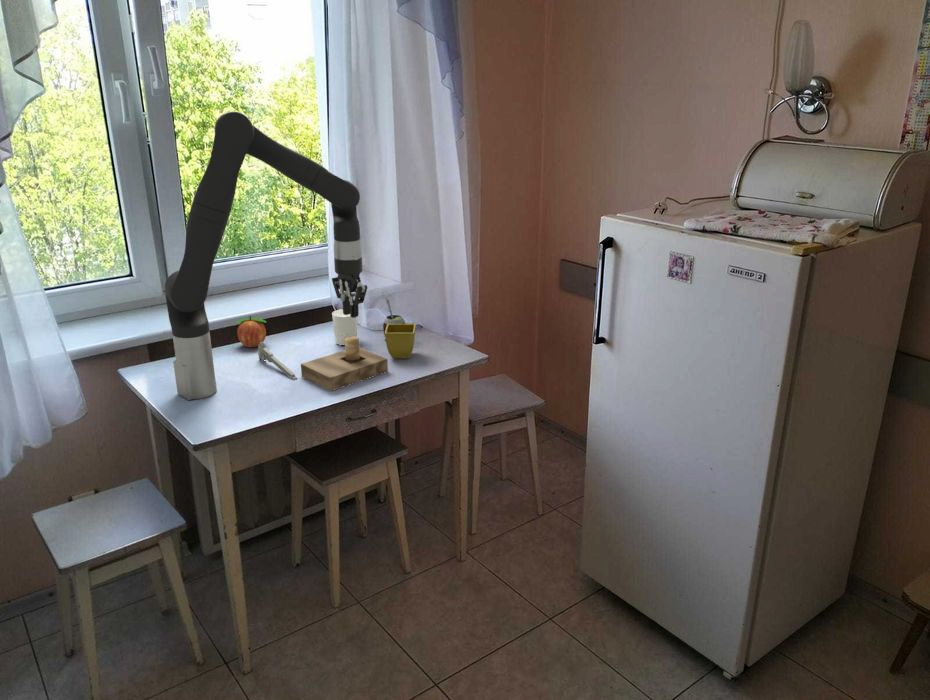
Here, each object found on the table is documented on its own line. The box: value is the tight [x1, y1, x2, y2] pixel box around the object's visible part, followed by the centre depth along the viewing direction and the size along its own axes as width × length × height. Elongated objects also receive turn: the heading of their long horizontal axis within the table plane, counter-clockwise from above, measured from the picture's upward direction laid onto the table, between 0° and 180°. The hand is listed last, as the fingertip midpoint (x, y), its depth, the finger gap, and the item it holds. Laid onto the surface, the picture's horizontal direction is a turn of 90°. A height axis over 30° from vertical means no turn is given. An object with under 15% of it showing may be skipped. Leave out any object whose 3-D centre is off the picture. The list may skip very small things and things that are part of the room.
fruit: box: [234, 315, 267, 348], centre depth 235 cm, size 9×10×10 cm
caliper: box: [257, 342, 298, 380], centre depth 218 cm, size 20×1×6 cm, turn 43°
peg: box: [344, 336, 360, 364], centre depth 216 cm, size 4×4×10 cm
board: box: [300, 346, 389, 392], centre depth 215 cm, size 20×14×4 cm
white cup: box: [331, 308, 358, 346], centre depth 239 cm, size 8×8×10 cm
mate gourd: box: [381, 292, 406, 342], centre depth 240 cm, size 8×8×15 cm
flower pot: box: [384, 323, 416, 359], centre depth 228 cm, size 9×9×9 cm
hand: (350, 315), depth 212 cm, fingers open, 3 cm apart
